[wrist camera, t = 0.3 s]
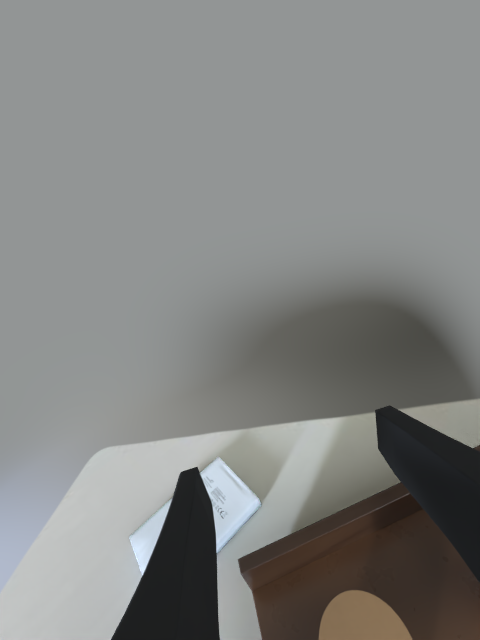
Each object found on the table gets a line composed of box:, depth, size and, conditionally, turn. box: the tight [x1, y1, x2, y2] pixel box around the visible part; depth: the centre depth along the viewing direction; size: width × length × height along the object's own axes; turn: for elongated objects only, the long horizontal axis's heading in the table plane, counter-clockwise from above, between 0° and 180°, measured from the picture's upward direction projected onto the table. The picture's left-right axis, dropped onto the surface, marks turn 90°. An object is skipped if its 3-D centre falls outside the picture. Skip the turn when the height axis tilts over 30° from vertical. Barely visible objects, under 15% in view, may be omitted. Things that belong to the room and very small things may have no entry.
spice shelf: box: [238, 445, 480, 640], centre depth 18 cm, size 11×22×6 cm, turn 103°
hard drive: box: [129, 457, 262, 576], centre depth 30 cm, size 2×8×12 cm
